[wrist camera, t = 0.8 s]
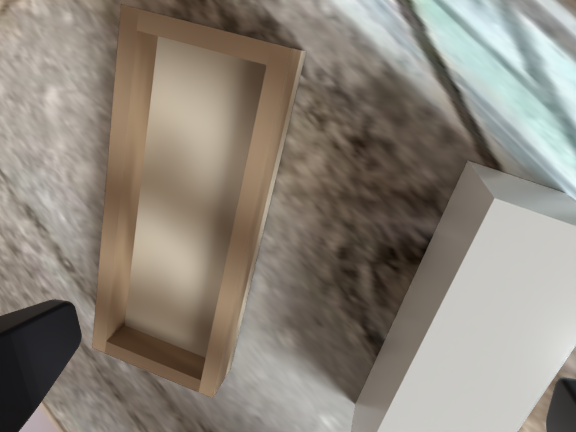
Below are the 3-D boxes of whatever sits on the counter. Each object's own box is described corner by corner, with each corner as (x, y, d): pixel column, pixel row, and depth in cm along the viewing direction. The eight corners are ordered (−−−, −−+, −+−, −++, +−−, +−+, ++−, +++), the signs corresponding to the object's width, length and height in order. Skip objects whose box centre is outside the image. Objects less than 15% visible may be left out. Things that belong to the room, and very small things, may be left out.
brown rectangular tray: (230, 368, 24) (212, 398, 22) (119, 324, 25) (92, 347, 23) (306, 51, 18) (291, 48, 16) (154, 12, 19) (121, 4, 17)
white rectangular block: (427, 436, 22) (434, 554, 17) (355, 404, 23) (338, 508, 17) (565, 193, 17) (641, 248, 12) (467, 160, 18) (494, 198, 12)
